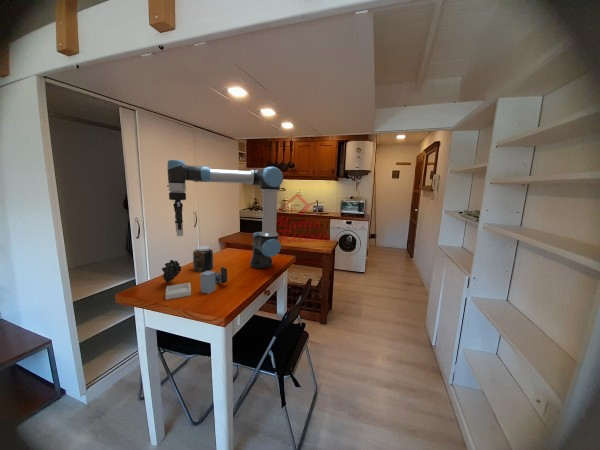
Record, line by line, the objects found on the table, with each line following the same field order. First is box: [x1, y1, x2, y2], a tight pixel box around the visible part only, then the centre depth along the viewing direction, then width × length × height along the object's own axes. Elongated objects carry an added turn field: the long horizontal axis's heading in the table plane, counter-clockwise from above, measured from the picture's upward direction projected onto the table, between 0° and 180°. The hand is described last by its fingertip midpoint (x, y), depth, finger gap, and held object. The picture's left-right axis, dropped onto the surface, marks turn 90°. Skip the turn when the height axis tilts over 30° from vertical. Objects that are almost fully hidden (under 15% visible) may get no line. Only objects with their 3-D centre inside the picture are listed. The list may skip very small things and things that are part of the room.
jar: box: [192, 245, 214, 273], centre depth 144 cm, size 12×12×15 cm
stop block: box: [199, 270, 217, 294], centre depth 114 cm, size 5×5×10 cm
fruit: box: [161, 259, 182, 283], centre depth 120 cm, size 9×8×15 cm
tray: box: [164, 282, 192, 301], centre depth 112 cm, size 11×11×2 cm
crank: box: [215, 266, 228, 284], centre depth 122 cm, size 12×4×8 cm, turn 48°
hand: (179, 233), depth 114 cm, fingers open, 13 cm apart
